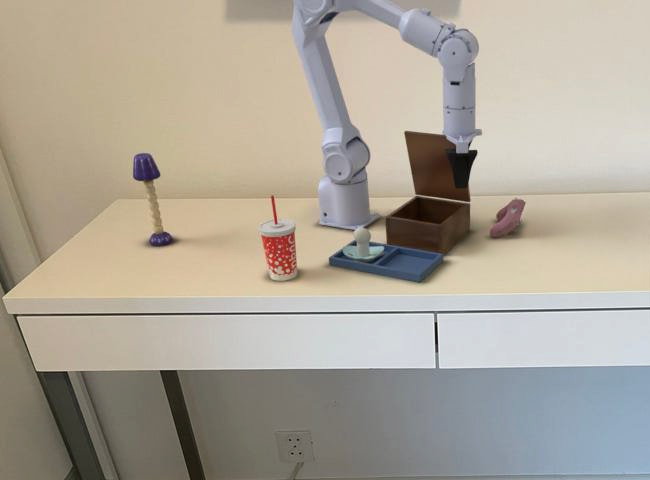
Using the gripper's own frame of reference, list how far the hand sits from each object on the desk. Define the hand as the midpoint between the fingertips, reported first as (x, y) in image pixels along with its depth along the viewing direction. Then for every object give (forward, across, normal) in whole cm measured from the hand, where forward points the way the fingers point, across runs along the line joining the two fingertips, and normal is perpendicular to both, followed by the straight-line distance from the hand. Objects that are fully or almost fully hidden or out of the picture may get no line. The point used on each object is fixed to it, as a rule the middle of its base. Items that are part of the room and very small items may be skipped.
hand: (459, 181), depth 139 cm
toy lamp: (+10, 0, +56) cm, 57 cm away
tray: (+10, -14, +14) cm, 22 cm away
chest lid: (-2, +1, +4) cm, 5 cm away
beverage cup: (+10, -17, +32) cm, 37 cm away
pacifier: (+10, -12, +18) cm, 23 cm away
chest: (+10, -3, +6) cm, 12 cm away
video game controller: (+10, 0, -9) cm, 14 cm away
